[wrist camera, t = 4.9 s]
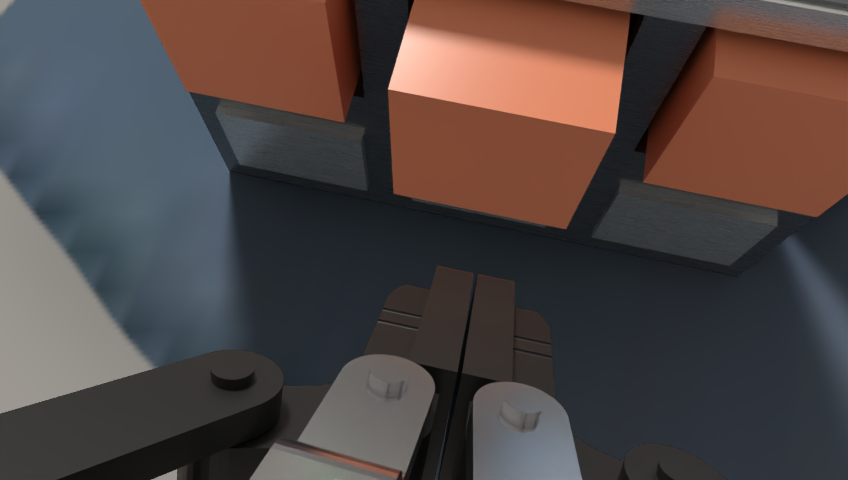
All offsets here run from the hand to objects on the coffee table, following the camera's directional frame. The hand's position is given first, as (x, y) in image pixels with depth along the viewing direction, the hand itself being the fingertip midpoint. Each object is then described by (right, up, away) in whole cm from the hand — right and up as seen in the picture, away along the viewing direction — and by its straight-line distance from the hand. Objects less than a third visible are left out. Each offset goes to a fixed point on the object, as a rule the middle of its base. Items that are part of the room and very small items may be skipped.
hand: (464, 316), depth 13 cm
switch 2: (+1, +5, +7) cm, 9 cm away
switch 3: (+9, +5, +8) cm, 12 cm away
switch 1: (-5, +8, +9) cm, 13 cm away
